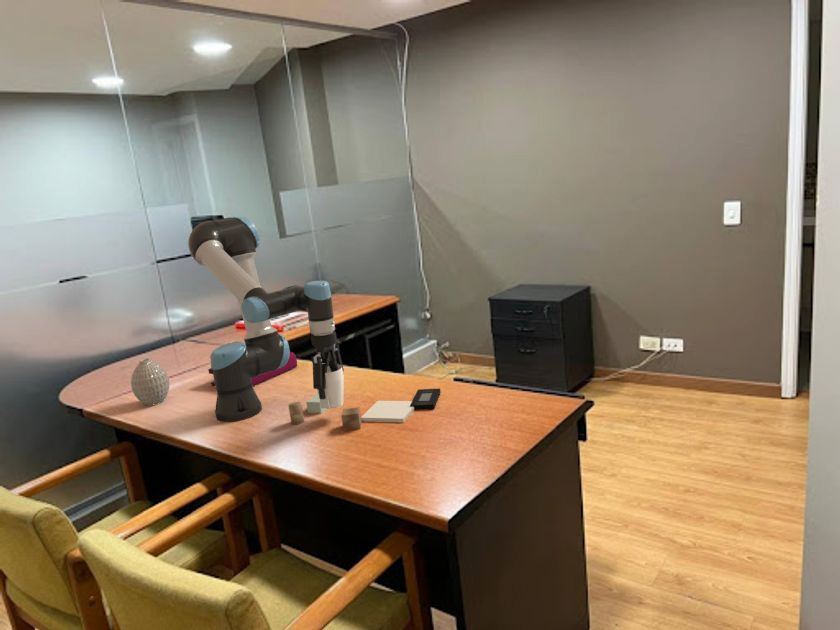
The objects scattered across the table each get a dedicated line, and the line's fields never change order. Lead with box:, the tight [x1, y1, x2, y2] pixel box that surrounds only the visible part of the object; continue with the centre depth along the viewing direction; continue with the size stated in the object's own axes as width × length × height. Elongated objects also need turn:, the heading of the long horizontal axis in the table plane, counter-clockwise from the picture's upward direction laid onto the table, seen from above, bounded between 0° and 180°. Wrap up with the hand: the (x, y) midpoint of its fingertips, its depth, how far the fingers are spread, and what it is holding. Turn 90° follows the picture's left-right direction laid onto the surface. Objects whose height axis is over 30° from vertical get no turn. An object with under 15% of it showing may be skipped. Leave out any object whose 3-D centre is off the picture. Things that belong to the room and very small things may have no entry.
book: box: [208, 351, 298, 387], centre depth 249 cm, size 21×28×8 cm
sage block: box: [305, 393, 327, 414], centre depth 204 cm, size 5×7×4 cm
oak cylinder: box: [287, 401, 305, 426], centre depth 195 cm, size 4×4×6 cm
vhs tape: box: [410, 387, 442, 411], centre depth 200 cm, size 8×14×2 cm, turn 170°
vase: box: [130, 357, 170, 406], centre depth 229 cm, size 13×13×17 cm
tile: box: [361, 400, 415, 423], centre depth 194 cm, size 14×14×1 cm
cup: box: [316, 364, 345, 410], centre depth 192 cm, size 9×9×12 cm
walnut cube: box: [340, 407, 363, 432], centre depth 186 cm, size 5×5×5 cm
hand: (332, 402), depth 193 cm, fingers closed on cup, 9 cm apart
